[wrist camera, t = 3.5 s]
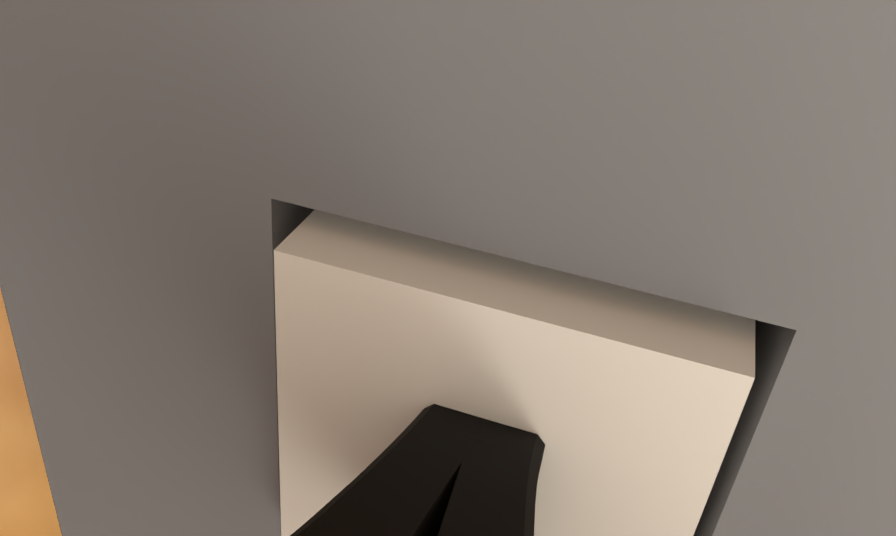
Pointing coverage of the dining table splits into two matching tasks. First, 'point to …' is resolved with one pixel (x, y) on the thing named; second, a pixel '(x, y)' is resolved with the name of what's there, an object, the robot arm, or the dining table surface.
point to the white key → (501, 374)
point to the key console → (441, 218)
